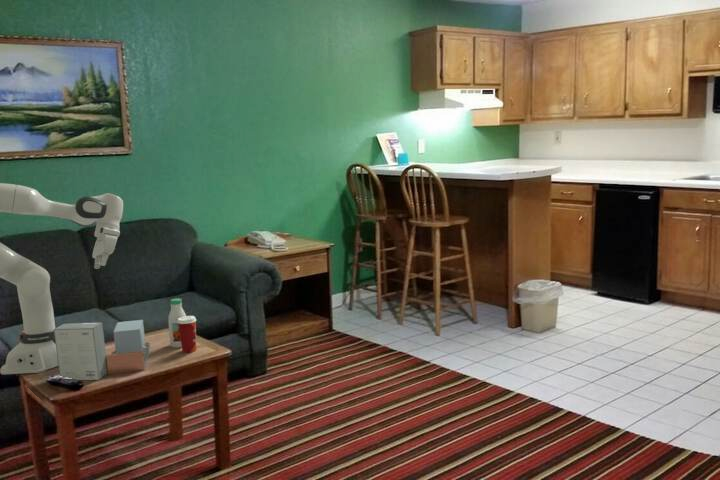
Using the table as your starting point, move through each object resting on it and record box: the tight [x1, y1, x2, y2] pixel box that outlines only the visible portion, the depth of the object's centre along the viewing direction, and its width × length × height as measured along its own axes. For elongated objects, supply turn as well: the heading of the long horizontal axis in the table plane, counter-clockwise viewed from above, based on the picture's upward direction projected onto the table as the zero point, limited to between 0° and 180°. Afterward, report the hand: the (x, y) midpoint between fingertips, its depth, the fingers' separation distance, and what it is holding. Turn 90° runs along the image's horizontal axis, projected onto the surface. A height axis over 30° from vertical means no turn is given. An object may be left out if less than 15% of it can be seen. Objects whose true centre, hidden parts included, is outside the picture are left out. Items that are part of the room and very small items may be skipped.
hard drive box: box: [54, 322, 108, 381], centre depth 243 cm, size 16×8×20 cm, turn 84°
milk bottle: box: [167, 297, 187, 348], centre depth 276 cm, size 8×8×20 cm
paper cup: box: [177, 315, 197, 354], centre depth 268 cm, size 8×8×14 cm
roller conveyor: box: [106, 342, 150, 375], centre depth 261 cm, size 13×28×7 cm, turn 14°
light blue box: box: [113, 319, 146, 354], centre depth 266 cm, size 10×14×9 cm
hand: (99, 266), depth 259 cm, fingers open, 8 cm apart
